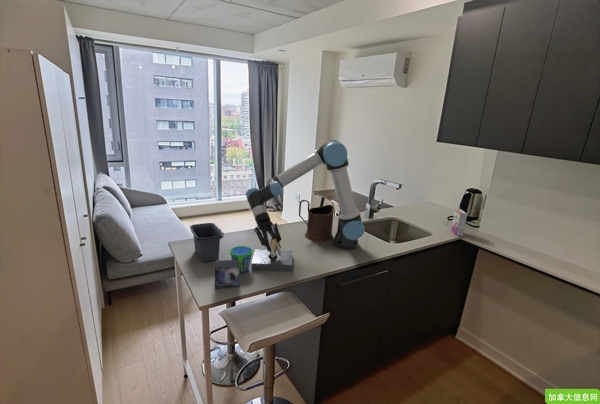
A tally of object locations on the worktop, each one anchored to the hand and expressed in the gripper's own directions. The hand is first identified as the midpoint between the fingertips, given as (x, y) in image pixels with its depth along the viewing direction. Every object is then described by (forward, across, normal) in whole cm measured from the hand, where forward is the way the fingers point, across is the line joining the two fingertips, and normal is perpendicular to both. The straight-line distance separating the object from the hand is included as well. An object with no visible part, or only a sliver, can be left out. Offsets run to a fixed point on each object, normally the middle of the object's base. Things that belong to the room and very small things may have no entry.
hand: (277, 255), depth 153 cm
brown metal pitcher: (-10, -43, -18) cm, 47 cm away
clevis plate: (+1, 0, -7) cm, 7 cm away
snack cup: (0, +17, -9) cm, 19 cm away
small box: (+6, +28, -2) cm, 29 cm away
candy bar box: (+23, -136, +14) cm, 139 cm away
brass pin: (0, 0, -6) cm, 6 cm away
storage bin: (-17, +24, -25) cm, 39 cm away
